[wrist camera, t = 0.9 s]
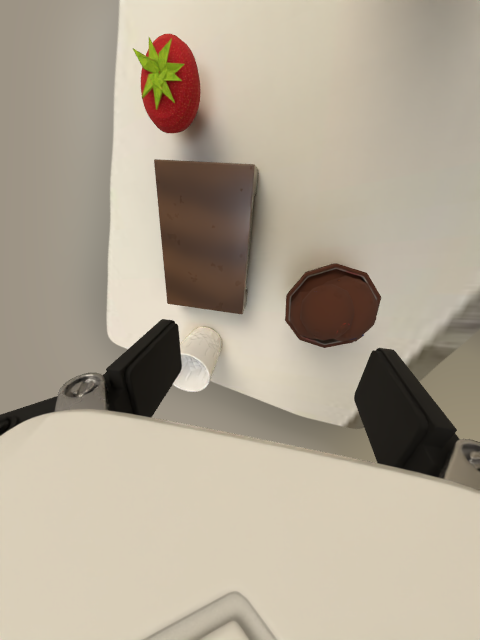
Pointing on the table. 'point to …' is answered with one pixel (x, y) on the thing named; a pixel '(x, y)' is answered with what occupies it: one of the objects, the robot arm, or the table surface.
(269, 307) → the table surface
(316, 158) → the table surface
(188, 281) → the panel
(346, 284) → the ice cream bowl
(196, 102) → the strawberry
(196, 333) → the white cup
